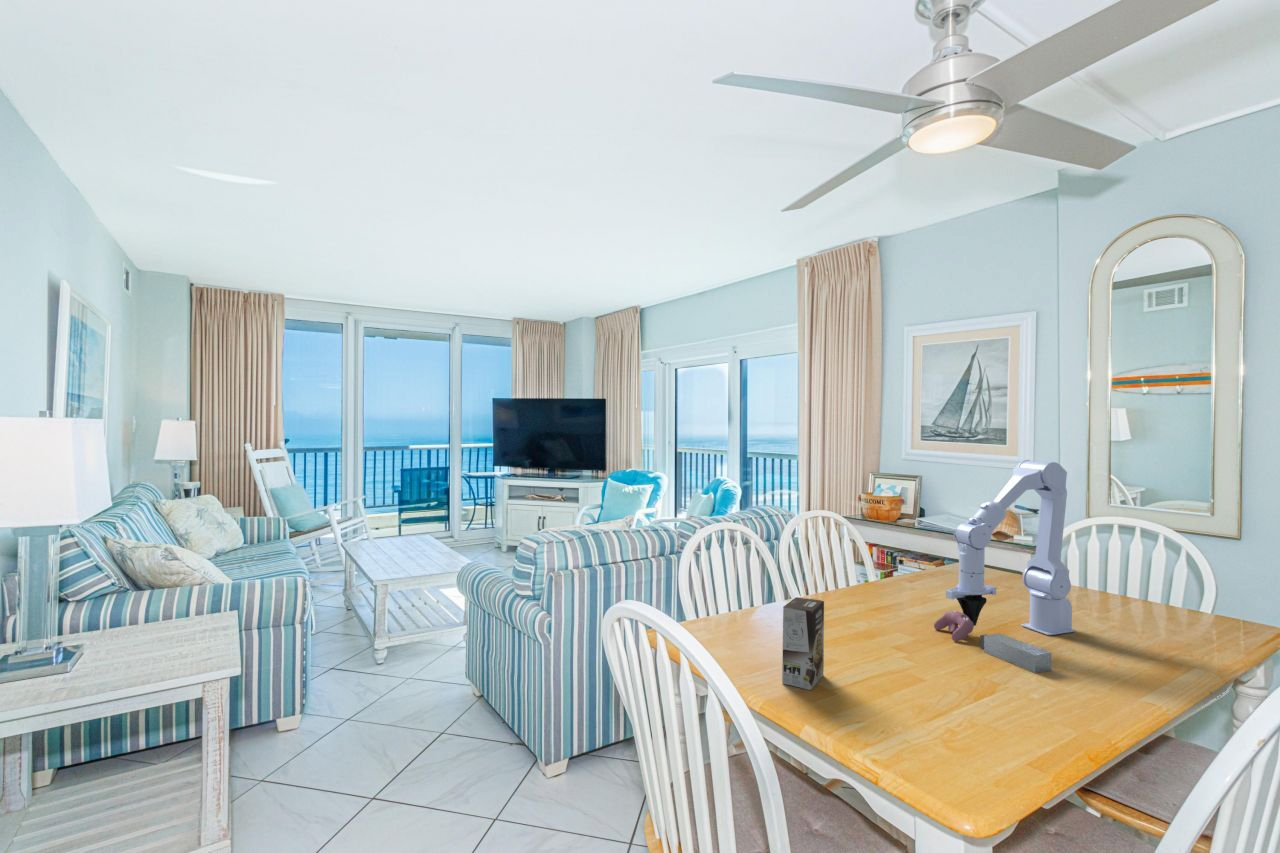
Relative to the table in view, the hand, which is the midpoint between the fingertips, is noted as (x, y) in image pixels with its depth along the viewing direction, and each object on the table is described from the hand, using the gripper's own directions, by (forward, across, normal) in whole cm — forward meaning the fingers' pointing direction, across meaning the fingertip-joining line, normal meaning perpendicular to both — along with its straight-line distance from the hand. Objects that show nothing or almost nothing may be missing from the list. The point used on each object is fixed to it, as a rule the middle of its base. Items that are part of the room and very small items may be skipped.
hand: (970, 624), depth 159 cm
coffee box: (+3, +56, +10) cm, 57 cm away
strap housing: (+3, +4, +16) cm, 17 cm away
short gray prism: (+3, +4, +14) cm, 14 cm away
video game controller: (+3, +4, -1) cm, 5 cm away
